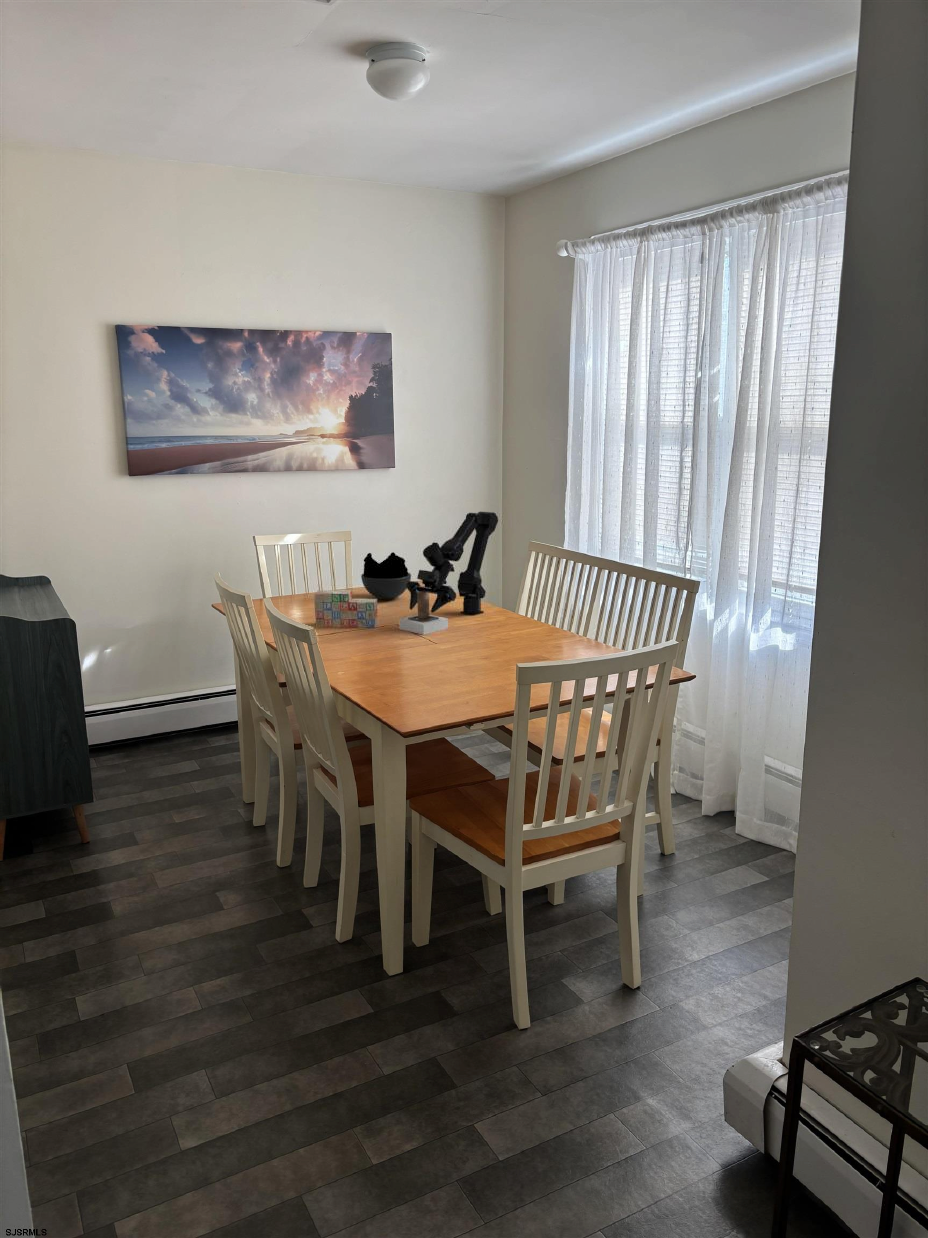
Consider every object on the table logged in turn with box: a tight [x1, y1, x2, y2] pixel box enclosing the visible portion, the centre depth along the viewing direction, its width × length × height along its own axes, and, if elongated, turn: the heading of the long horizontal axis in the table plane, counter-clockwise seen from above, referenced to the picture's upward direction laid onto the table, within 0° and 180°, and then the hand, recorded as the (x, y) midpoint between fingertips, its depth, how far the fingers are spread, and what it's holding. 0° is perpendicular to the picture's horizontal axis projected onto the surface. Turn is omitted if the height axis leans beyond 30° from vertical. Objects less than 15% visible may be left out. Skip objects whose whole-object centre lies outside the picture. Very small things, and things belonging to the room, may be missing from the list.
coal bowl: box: [360, 552, 412, 600], centre depth 363 cm, size 20×20×19 cm
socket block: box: [398, 614, 449, 635], centre depth 315 cm, size 12×12×4 cm
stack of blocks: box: [314, 589, 379, 629], centre depth 319 cm, size 21×6×12 cm, turn 85°
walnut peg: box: [417, 591, 430, 620], centre depth 314 cm, size 4×4×13 cm
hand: (420, 610), depth 312 cm, fingers open, 9 cm apart
